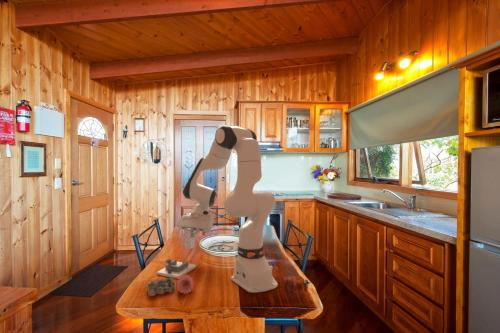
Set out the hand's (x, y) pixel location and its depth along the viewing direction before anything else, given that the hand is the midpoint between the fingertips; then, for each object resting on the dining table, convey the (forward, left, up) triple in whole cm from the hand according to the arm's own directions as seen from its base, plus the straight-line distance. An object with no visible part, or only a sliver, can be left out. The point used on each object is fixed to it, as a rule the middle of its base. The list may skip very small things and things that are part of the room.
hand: (189, 236), depth 138 cm
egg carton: (-26, +17, -14) cm, 34 cm away
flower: (-31, +8, -14) cm, 35 cm away
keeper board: (-9, +8, -13) cm, 18 cm away
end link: (0, 0, -6) cm, 6 cm away
